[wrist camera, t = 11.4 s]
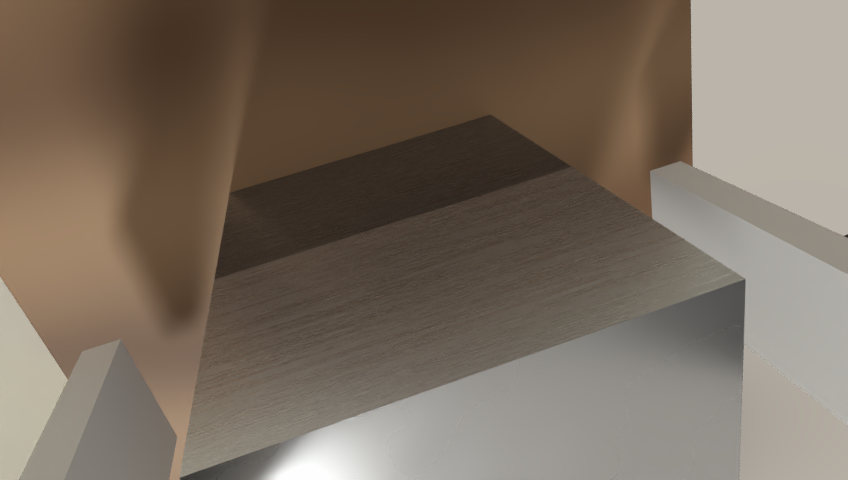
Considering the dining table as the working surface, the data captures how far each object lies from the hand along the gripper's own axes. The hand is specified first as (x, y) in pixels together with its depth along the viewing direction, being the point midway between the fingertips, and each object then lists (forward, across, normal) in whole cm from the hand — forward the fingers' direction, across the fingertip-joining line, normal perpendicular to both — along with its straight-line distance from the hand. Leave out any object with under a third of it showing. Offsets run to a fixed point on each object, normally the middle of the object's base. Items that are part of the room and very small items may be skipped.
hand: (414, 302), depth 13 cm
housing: (+2, 0, 0) cm, 2 cm away
